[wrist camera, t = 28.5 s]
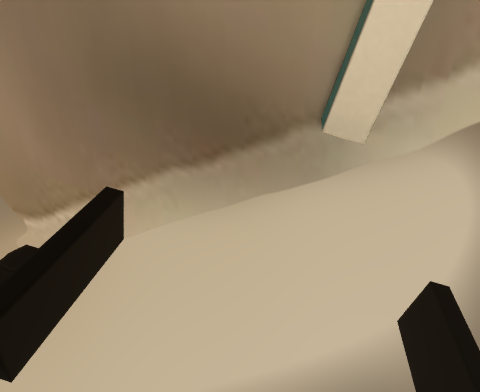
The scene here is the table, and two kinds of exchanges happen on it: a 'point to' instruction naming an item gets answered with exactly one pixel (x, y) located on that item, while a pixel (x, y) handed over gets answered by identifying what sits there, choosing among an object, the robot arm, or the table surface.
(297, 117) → the table surface
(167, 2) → the table surface
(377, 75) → the long rectangular block
